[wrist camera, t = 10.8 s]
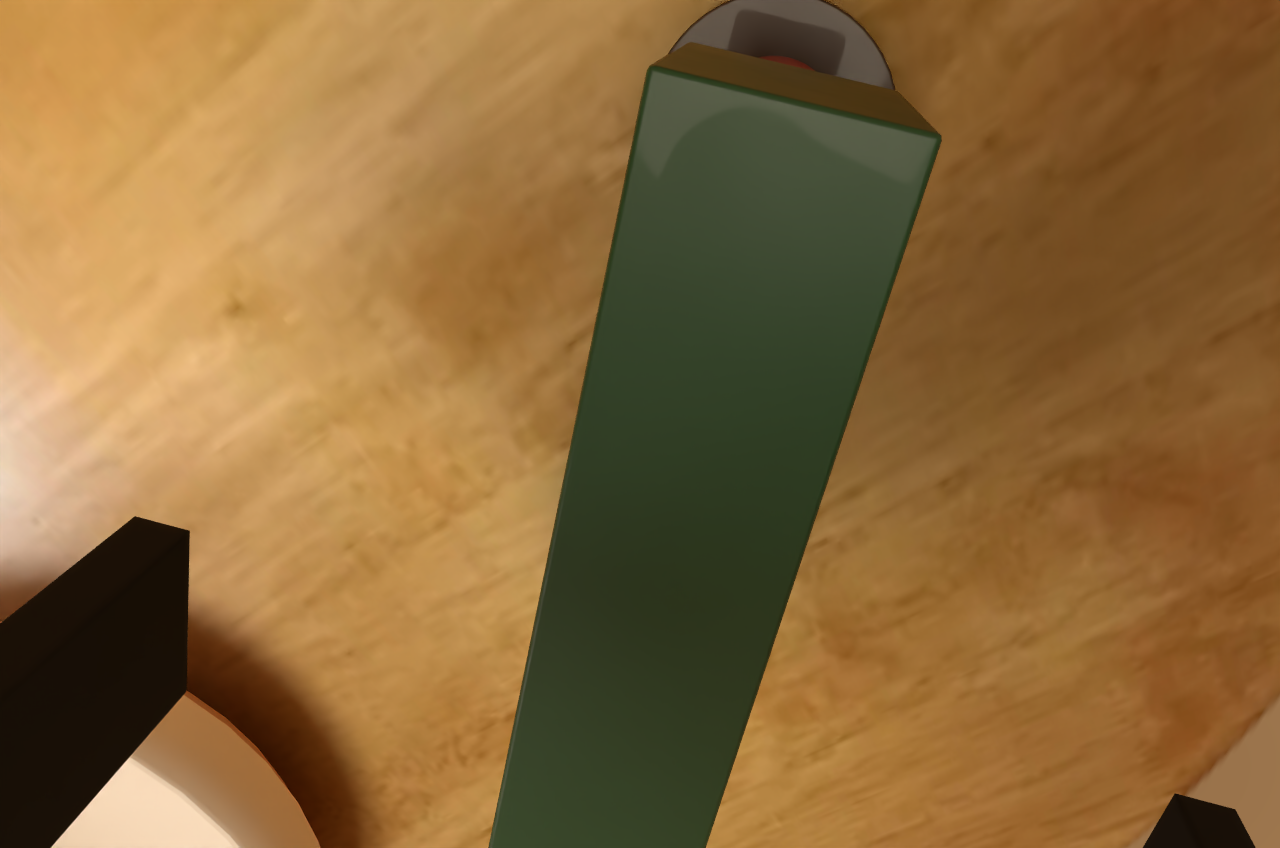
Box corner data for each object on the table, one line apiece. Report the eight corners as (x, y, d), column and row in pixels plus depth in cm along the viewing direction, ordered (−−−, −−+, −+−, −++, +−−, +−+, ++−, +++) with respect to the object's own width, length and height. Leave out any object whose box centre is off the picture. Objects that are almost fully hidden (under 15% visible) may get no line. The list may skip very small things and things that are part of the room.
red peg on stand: (928, 22, 24) (1001, 44, 15) (853, 264, 26) (882, 392, 18) (681, -36, 24) (625, -43, 16) (630, 210, 26) (559, 312, 18)
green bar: (900, 91, 16) (944, 134, 11) (676, 812, 23) (648, 1020, 18) (687, 40, 16) (647, 64, 12) (528, 773, 23) (463, 969, 18)
